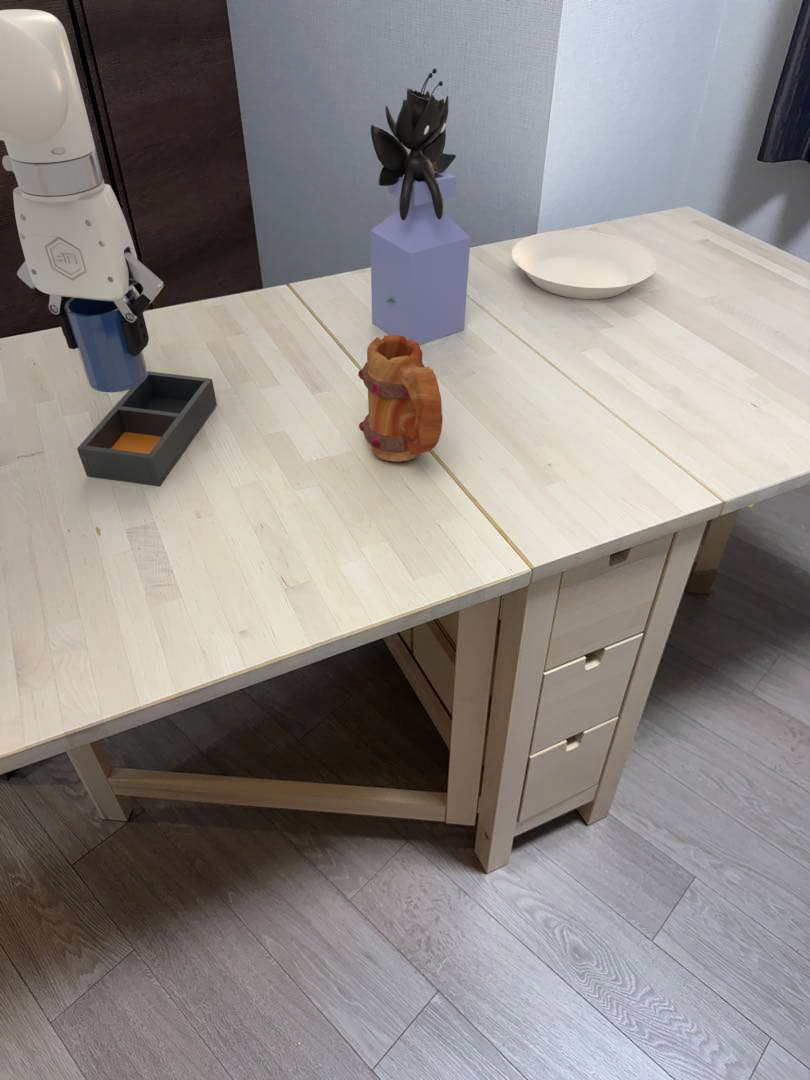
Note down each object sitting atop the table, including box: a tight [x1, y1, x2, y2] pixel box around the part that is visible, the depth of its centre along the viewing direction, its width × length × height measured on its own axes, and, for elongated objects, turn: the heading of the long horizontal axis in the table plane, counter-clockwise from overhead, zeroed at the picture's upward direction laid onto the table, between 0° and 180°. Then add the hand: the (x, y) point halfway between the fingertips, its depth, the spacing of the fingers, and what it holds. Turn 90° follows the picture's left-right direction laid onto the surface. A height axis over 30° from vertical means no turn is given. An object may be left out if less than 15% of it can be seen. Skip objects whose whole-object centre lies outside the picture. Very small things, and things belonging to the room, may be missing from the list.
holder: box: [76, 370, 218, 487], centre depth 94 cm, size 9×18×4 cm, turn 169°
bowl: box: [511, 229, 658, 300], centre depth 131 cm, size 25×25×4 cm
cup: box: [64, 295, 148, 394], centre depth 81 cm, size 6×6×9 cm
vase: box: [369, 68, 472, 346], centre depth 105 cm, size 14×12×35 cm
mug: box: [357, 334, 443, 462], centre depth 87 cm, size 15×8×15 cm, turn 25°
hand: (108, 345), depth 82 cm, fingers closed on cup, 6 cm apart
